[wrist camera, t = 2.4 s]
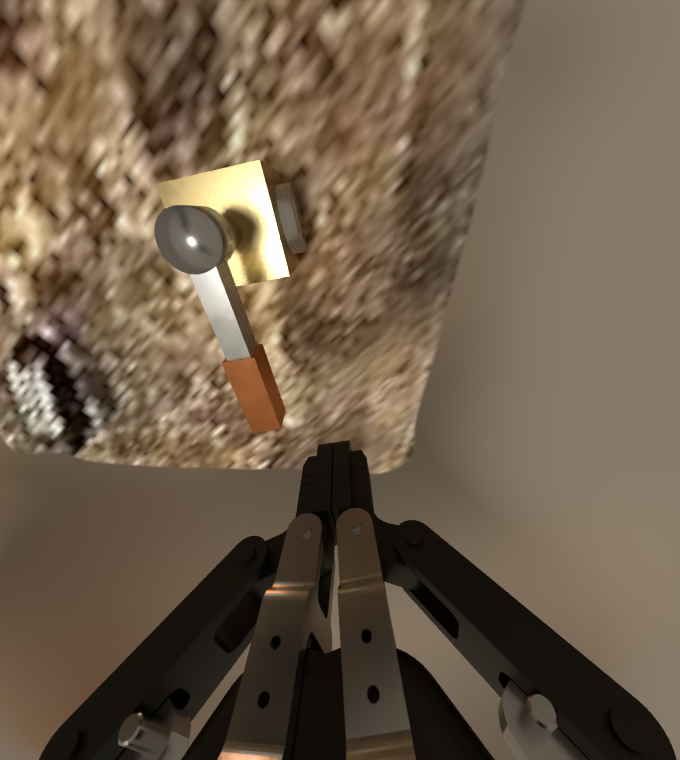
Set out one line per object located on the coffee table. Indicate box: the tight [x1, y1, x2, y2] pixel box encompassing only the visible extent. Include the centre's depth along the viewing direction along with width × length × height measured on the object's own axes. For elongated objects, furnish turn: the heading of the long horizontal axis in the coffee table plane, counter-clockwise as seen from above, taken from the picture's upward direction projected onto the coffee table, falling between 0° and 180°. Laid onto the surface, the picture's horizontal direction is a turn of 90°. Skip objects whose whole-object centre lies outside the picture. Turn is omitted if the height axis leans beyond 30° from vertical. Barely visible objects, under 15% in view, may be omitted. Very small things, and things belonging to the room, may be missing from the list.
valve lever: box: [155, 205, 286, 433], centre depth 18 cm, size 15×3×2 cm, turn 10°
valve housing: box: [155, 160, 306, 286], centre depth 21 cm, size 7×9×10 cm
